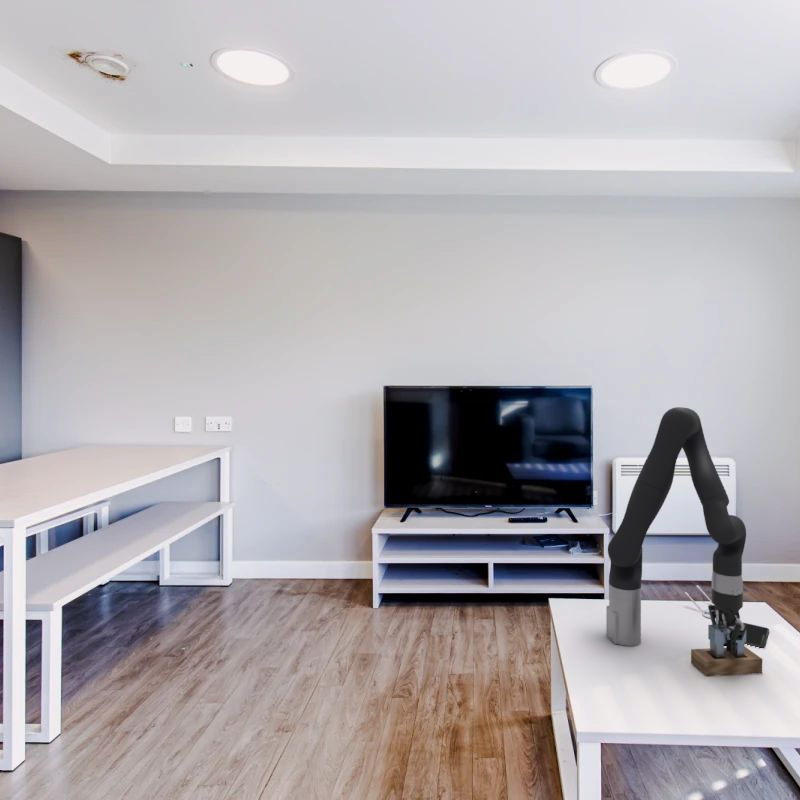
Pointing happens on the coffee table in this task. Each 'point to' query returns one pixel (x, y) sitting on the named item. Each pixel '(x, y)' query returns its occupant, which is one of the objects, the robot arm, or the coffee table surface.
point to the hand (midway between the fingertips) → (726, 648)
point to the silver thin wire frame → (697, 605)
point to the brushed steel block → (723, 641)
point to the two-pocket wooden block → (726, 662)
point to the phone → (756, 635)
